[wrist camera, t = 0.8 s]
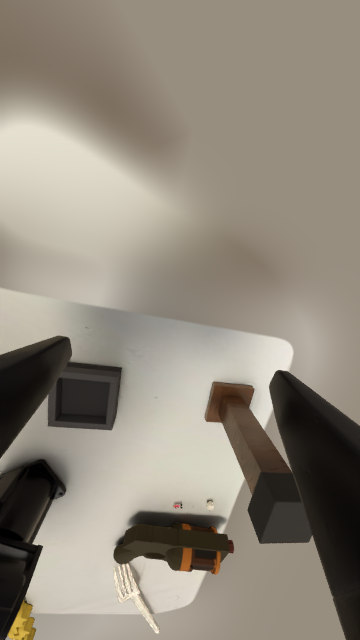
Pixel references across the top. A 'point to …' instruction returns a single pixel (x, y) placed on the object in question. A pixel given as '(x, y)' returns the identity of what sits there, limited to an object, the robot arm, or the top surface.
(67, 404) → the base pad
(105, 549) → the top surface
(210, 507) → the figurine set
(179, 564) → the toy gun
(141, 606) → the fork
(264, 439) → the stand
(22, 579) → the robot arm
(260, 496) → the black block
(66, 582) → the top surface
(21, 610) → the toy
